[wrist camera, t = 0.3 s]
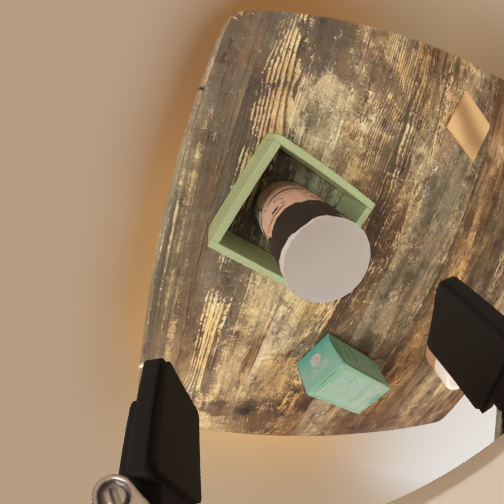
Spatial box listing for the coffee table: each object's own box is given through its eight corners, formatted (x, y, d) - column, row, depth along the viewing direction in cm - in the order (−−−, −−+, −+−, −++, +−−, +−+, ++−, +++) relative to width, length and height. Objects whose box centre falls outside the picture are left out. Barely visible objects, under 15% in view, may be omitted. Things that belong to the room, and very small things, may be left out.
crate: (267, 132, 31) (278, 133, 25) (352, 192, 35) (376, 204, 29) (208, 227, 34) (207, 246, 29) (295, 274, 38) (309, 298, 33)
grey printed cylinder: (317, 187, 34) (382, 227, 20) (302, 239, 36) (352, 306, 23) (262, 174, 33) (298, 207, 19) (248, 230, 35) (272, 297, 21)
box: (326, 330, 42) (344, 364, 36) (374, 359, 47) (392, 388, 40) (293, 361, 44) (305, 397, 37) (345, 385, 49) (359, 415, 42)
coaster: (464, 90, 30) (465, 90, 30) (488, 125, 33) (490, 126, 32) (445, 127, 32) (447, 127, 32) (471, 162, 35) (473, 162, 34)
